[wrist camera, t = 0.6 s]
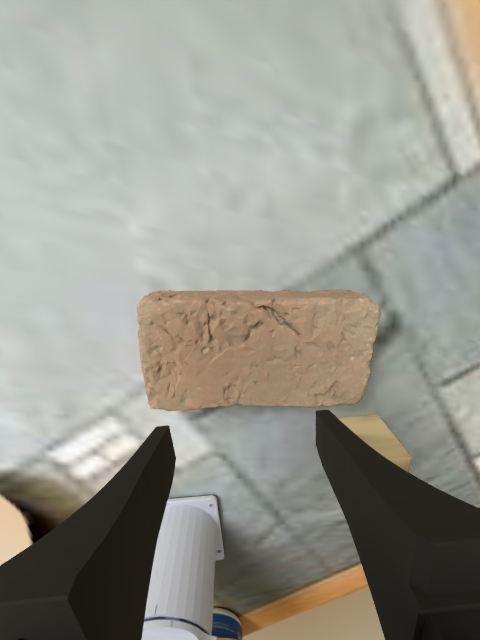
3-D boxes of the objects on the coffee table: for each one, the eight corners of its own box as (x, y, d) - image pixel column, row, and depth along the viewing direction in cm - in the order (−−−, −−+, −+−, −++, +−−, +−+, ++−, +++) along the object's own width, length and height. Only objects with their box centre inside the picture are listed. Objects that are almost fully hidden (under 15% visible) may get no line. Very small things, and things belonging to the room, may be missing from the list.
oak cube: (372, 455, 27) (403, 503, 22) (323, 459, 27) (343, 509, 22) (377, 414, 25) (411, 456, 20) (324, 418, 25) (346, 462, 20)
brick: (359, 286, 21) (393, 301, 17) (345, 378, 24) (371, 412, 20) (151, 285, 21) (128, 300, 16) (160, 379, 24) (143, 414, 19)
